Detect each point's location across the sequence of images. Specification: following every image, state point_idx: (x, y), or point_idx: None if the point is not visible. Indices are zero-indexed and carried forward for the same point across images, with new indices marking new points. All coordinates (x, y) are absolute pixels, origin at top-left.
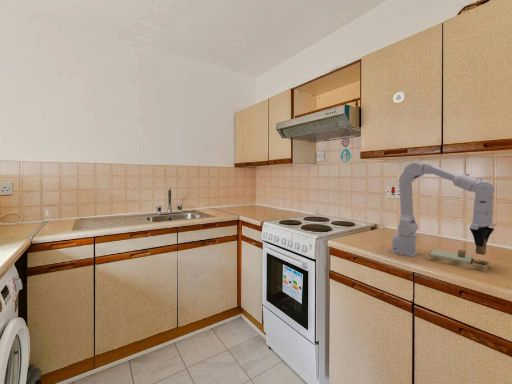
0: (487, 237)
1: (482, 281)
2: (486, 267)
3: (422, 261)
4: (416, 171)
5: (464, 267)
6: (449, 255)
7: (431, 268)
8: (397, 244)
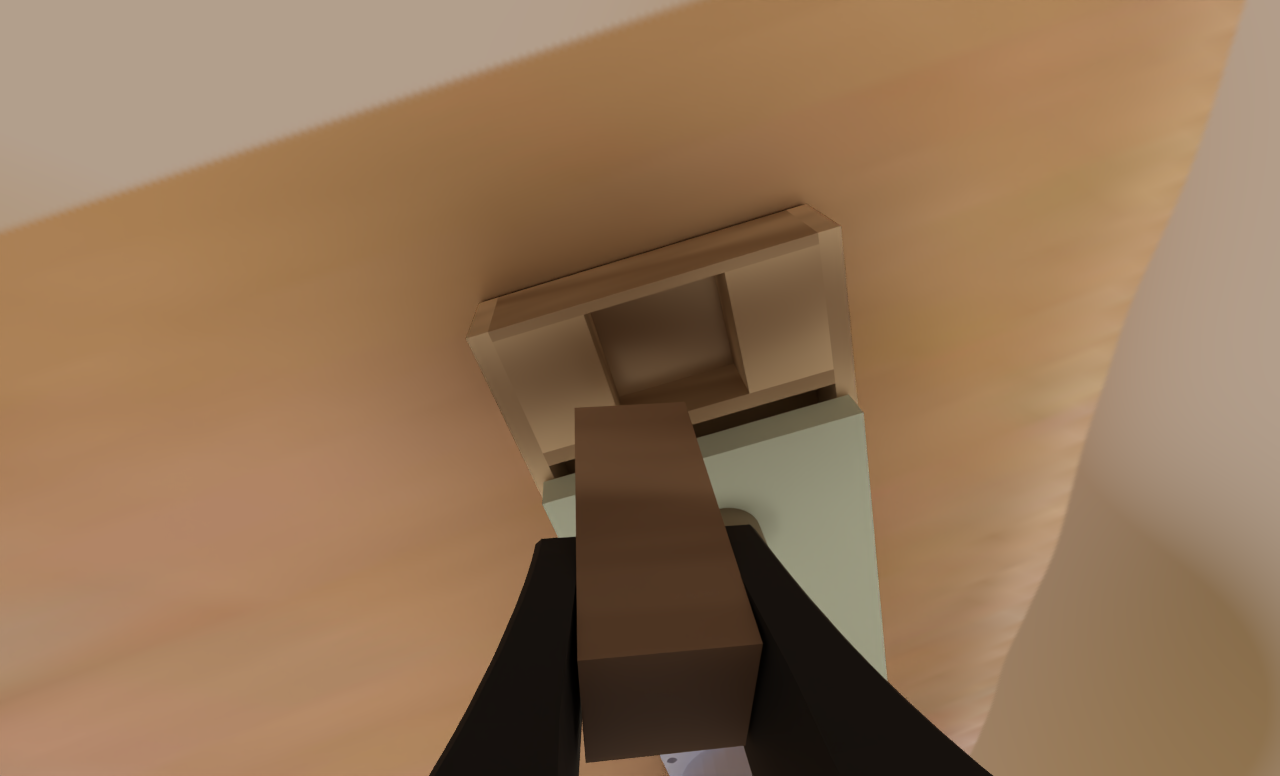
0: (560, 719)
1: (1128, 123)
2: (840, 231)
3: None
4: None
5: None
6: None
7: (1028, 519)
8: None
